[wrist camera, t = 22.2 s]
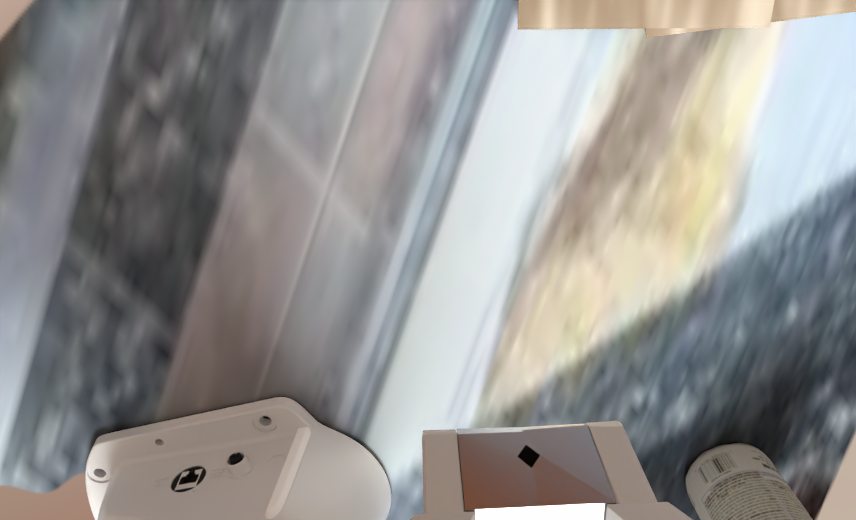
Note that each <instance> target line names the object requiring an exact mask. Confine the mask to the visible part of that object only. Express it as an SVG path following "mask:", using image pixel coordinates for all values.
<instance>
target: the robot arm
mask: <svg viewBox="0 0 856 520" xmlns="http://www.w3.org/2000/svg"><path fill="white" fill-rule="evenodd" d="M263 416H267V417H269V418H270V419H265V418H263ZM422 449H423V495H424V514H416V515H413V516H412V518H411V519H410V520H692V519H691V518H690V517H688V516H687V515H686V514H684V513H683V512H681V511H680V510H679V509H677V508H676V507H674V506H673V505H672V504H670V503H669V502H657V500H656V497H655V495H654V493H653V491H652V489H651V487H650V484H649V482H648V480H647V478H646V476H645V473H644V471H643V469H642V467H641V465H640V462H639V460H638V458H637V456H636V454H635V451H634V449H633V447H632V445H631V443H630V440H629V438H628V436H627V434H626V432H625V429H624V427H623V425H622V424H621V423H620V422H618V421H606V422H591V423H585V424H569V425H552V426H534V427H512V428H475V429H457V433H456V430H424V431H423V436H422ZM85 480H86V489H87V495H88V499H89V503H90V507H91V510H92V513H93V516H94V518H95V520H386V519H387V516H388V514H389V510H390V505H391V490H390V485H389V481H388V478H387V476H386V474H385V472H384V470H383V468H382V467H381V465H380V464H379V462H378V461H377V460H376V458H375V457H374V456H373V455H372V454H371V453H370V452H369V451H368V450H367V449H366V448H364V447H363V446H362V445H360V444H359V443H358V442H356V441H355V440H353V439H351V438H350V437H348V436H346V435H344V434H342V433H340V432H337V431H335V430H333V429H331V428H328V427H326V426H324V425H322V424H321V423H319V422H317V421H316V420H315V419H314V418H313V417H312V416H311V415H310V414H309V413H308V412H307V411H306V410H305V409H304V408H303V407H302V406H301V405H299V404H298V403H297V402H295V401H294V400H292V399H290V398H287V397H275V398H270V399H266V400H261V401H256V402H252V403H247V404H242V405H238V406H233V407H228V408H224V409H219V410H214V411H210V412H205V413H200V414H196V415H191V416H186V417H182V418H177V419H172V420H168V421H163V422H158V423H154V424H149V425H144V426H140V427H135V428H130V429H126V430H121V431H116V432H112V433H107V434H104V435H101V436H99V437H98V438H97V439H96V441H95V443H94V445H93V447H92V450H91V452H90V454H89V457H88V460H87V464H86V473H85Z"/></svg>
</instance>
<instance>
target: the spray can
mask: <svg viewBox="0 0 856 520" xmlns="http://www.w3.org/2000/svg"><path fill="white" fill-rule="evenodd" d="M685 479H686V488H687V493H688V495H689V498H690V500H691V502H692V504H693V506H694V508H695V510H696V512H697V514H698V516H699V517H700V519H701V520H813V519H812V518H811V517H810V515H809V514H808V512H807V511H806V509H805V508H804V507H803V505H802V504H801V502H800V501H799V500H798V498H797V497H796V495H795V494H794V493H793V491H792V490H791V488H790V487H789V485H788V484H787V483H786V481H785V480H784V478H783V477H782V476H781V474H780V473H779V471H778V470H777V469H776V467H775V466H774V464H773V463H772V462H771V460H770V459H769V458H768V457H767V456H766V455H765V454H764V453H763V452H762V451H761V450H759V449H758V448H756V447H754V446H752V445H749V444H743V443H734V444H728V445H720V446H717V447H715V448H712V449H710V450H707V451H705V452H703V453H702V454H701V455H700V456H699V457H698V458H697V459H696V461H695V462H694V463H693V464H692V465H691V467H690V468H689V470H688V473H687V475H686V478H685Z"/></svg>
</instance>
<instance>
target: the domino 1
mask: <svg viewBox="0 0 856 520" xmlns="http://www.w3.org/2000/svg"><path fill="white" fill-rule="evenodd" d="M774 1H775V0H518V29H634V28H764V27H770V22H771V17H772V12H773V6H774Z"/></svg>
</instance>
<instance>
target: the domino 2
mask: <svg viewBox="0 0 856 520" xmlns="http://www.w3.org/2000/svg"><path fill="white" fill-rule="evenodd" d="M849 12H856V0H775V1H774V6H773V12H772V17H771V22H776V21H784V20H792V19H800V18H808V17H817V16H825V15H833V14H841V13H849ZM711 29H719V28H645V32H646V37H654V36H662V35H671V34H679V33H687V32H695V31H703V30H711Z"/></svg>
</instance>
